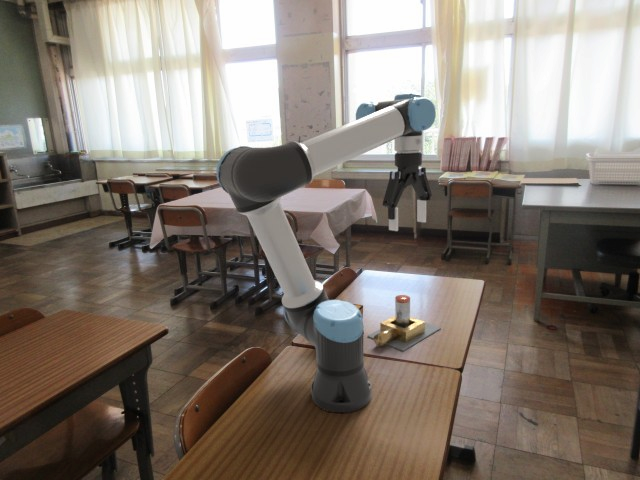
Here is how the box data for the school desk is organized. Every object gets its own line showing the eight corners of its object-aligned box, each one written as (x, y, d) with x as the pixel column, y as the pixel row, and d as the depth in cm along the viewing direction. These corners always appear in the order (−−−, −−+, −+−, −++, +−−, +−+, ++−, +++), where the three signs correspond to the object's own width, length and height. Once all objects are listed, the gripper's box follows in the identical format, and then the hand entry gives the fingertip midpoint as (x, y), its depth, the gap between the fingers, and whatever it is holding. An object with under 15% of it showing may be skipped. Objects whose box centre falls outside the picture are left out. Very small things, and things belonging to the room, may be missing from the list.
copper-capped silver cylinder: (404, 337, 139) (404, 302, 136) (392, 332, 142) (392, 298, 139) (412, 332, 142) (413, 297, 139) (401, 327, 145) (401, 293, 142)
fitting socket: (391, 351, 131) (391, 340, 130) (365, 340, 138) (365, 330, 137) (424, 332, 142) (425, 321, 141) (399, 323, 149) (399, 313, 148)
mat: (403, 351, 131) (403, 350, 131) (367, 336, 141) (367, 335, 141) (440, 328, 144) (440, 327, 144) (405, 316, 154) (405, 315, 154)
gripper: (391, 155, 113) (391, 236, 118) (444, 148, 129) (442, 220, 134) (368, 155, 118) (370, 232, 123) (422, 148, 134) (422, 217, 140)
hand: (408, 226), depth 129 cm, fingers open, 13 cm apart
